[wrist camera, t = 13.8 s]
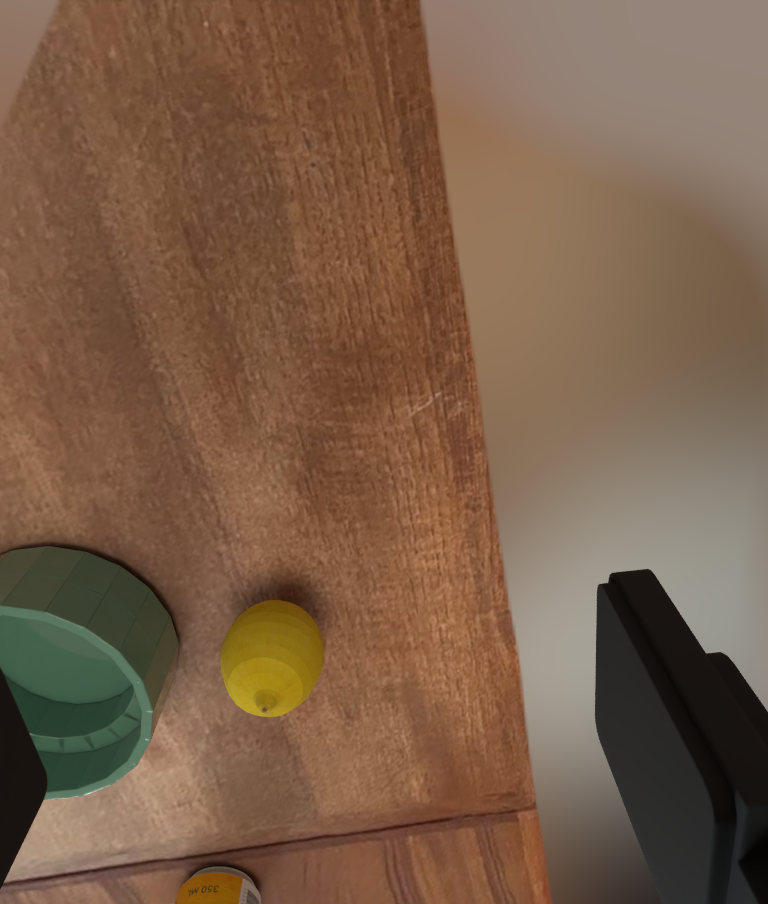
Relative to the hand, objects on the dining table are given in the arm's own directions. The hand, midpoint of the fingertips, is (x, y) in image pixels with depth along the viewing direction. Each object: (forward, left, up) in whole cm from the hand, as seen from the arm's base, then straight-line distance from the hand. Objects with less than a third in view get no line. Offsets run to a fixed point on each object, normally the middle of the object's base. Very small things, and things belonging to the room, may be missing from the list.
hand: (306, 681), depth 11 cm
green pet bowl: (+17, -20, -26) cm, 37 cm away
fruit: (+17, -7, -26) cm, 32 cm away
